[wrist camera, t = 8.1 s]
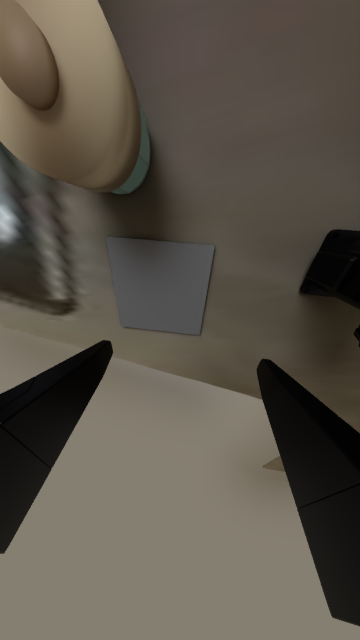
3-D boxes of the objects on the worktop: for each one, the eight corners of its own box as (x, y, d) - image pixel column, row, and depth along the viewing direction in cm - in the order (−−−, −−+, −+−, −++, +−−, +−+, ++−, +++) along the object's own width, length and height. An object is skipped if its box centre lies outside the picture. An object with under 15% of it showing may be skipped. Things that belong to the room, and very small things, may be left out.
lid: (136, 18, 8) (77, -187, 4) (144, 195, 12) (117, 179, 8) (7, 17, 8) (-166, -175, 4) (55, 189, 12) (-13, 170, 8)
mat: (214, 245, 16) (214, 245, 16) (199, 333, 23) (199, 335, 22) (107, 236, 17) (105, 236, 17) (122, 324, 23) (120, 326, 23)
